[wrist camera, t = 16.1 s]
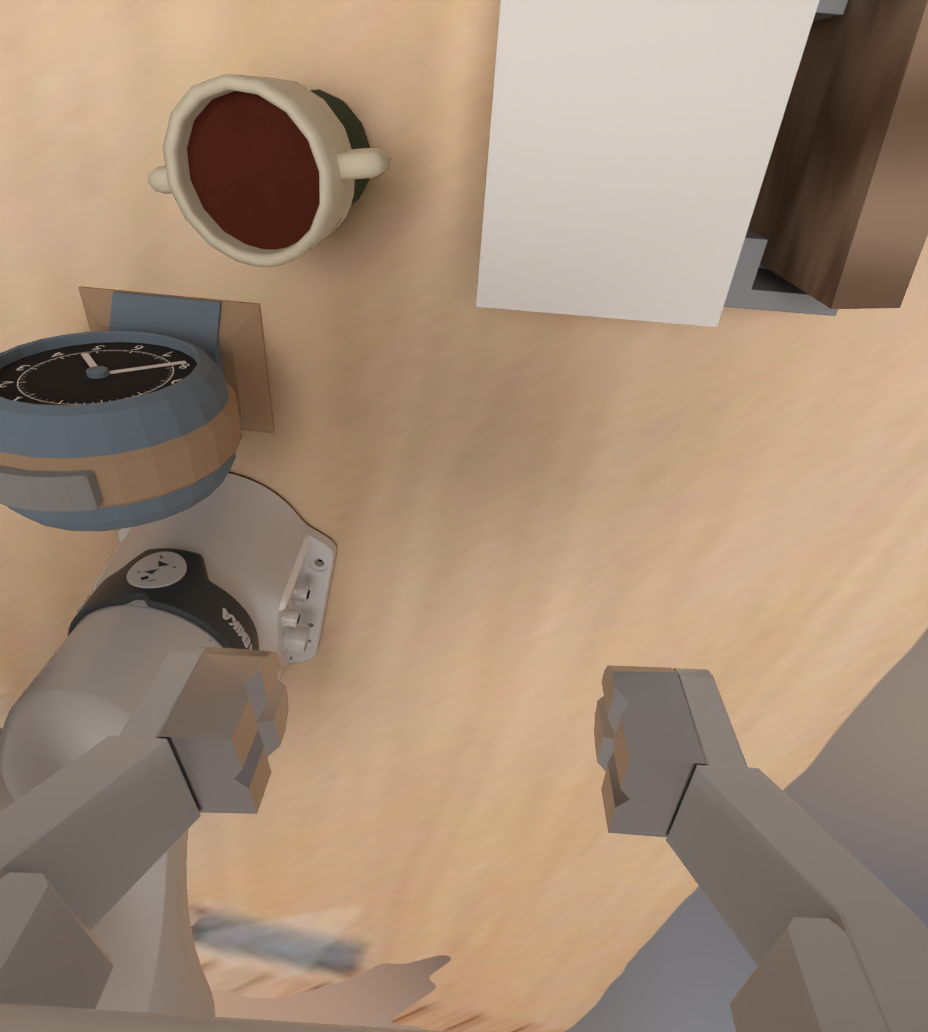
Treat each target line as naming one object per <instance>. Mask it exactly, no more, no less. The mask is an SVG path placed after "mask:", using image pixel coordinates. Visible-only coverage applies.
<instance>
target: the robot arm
mask: <svg viewBox="0 0 928 1032" xmlns="http://www.w3.org/2000/svg"><path fill="white" fill-rule="evenodd" d="M118 538H119V541H120V542H121V543H120V545H119V546H118V548H117V549H116V551H115V552H114V554H113V555H112V557H111V558H110V560H109V562H108V563H107V565H106V566H105V568H104V569H103V571H102V573H101V574H100V576H99V577H98V579H97V581H96V582H95V584H94V588H93V594H92V595H91V596H88V597H87V599H86V600H85V601H84V603H83V604H82V605H81V607H80V608H79V610H78V614H77V615H76V616H75V618H74V619H73V621H72V623H71V625H70V628H69V632H68V637H67V638H66V640H65V641H64V642H63V643H62V645H61V646H60V647H59V648H58V650H57V651H56V652H55V653H54V655H53V656H52V657H51V659H50V660H49V661H48V662H47V664H46V665H45V666H44V667H43V669H42V670H41V671H40V672H39V674H38V675H37V676H36V677H35V679H34V680H33V681H32V683H31V684H30V685H29V686H28V688H27V689H26V690H25V691H24V693H23V694H22V695H21V696H20V698H19V699H18V700H17V702H16V703H15V704H14V705H13V707H12V708H11V710H10V711H9V713H8V716H7V718H6V721H5V724H4V727H3V731H2V735H1V740H0V770H1V773H2V776H3V779H4V782H5V784H6V786H7V788H8V790H9V792H10V794H11V796H12V798H13V801H14V803H12V804H11V805H10V806H8V807H7V808H5V809H4V810H2V811H1V812H0V1032H445V1031H429V1030H413V1029H398V1028H382V1027H366V1026H351V1025H335V1024H319V1023H303V1022H288V1021H272V1020H256V1019H241V1018H224V1017H215V1007H214V1000H213V996H212V992H211V989H210V987H209V984H208V982H207V980H206V977H205V975H204V973H203V970H202V968H201V965H200V961H199V958H198V955H197V952H196V949H195V945H194V940H193V935H192V931H191V925H190V917H189V909H188V896H187V867H186V862H187V840H188V829H189V827H190V826H191V825H192V824H193V823H194V822H195V821H196V820H197V819H198V818H199V817H200V812H211V813H251V814H257V812H258V809H259V807H260V804H261V801H262V798H263V795H264V792H265V789H266V786H267V783H268V780H269V777H270V774H271V769H270V766H269V762H268V759H267V757H268V756H269V755H270V754H271V753H272V752H273V751H275V750H276V749H277V748H278V747H279V746H280V744H281V741H282V738H283V735H284V732H285V728H286V722H287V715H288V695H287V690H286V686H285V685H284V684H283V683H282V682H280V681H279V680H280V679H281V677H282V676H283V674H284V671H285V669H286V667H287V665H291V664H296V663H301V662H304V661H307V660H310V659H312V658H313V657H314V656H315V655H316V652H317V650H318V648H319V643H320V638H321V633H322V627H323V622H324V617H325V611H326V606H327V601H328V596H329V590H330V585H331V580H332V574H333V569H334V564H335V559H336V553H337V548H336V545H335V544H334V542H333V541H332V540H330V539H329V538H328V537H326V536H325V535H323V534H322V533H320V532H318V531H316V530H315V529H313V528H311V527H309V526H308V525H307V524H306V523H305V522H304V521H303V520H302V519H301V518H300V517H299V516H298V515H297V513H296V512H295V511H294V510H293V509H292V508H291V507H290V506H289V505H288V504H287V503H286V502H285V501H284V500H283V499H282V498H280V497H279V496H278V495H276V494H275V493H274V492H272V491H271V490H269V489H267V488H266V487H264V486H262V485H260V484H258V483H256V482H254V481H252V480H249V479H247V478H244V477H241V476H237V475H234V474H229V473H228V474H227V476H226V478H225V479H224V481H223V483H222V484H221V485H220V486H219V487H218V488H217V489H216V490H215V491H214V492H213V493H212V494H211V495H210V496H209V497H207V498H206V499H204V500H202V501H201V502H199V503H198V504H196V505H194V506H193V507H191V508H190V509H187V510H185V511H182V512H180V513H178V514H175V515H173V516H170V517H168V518H166V519H163V520H159V521H155V522H151V523H147V524H144V525H140V526H136V527H130V528H122V529H120V530H119V531H118ZM317 559H320V560H322V561H323V562H321V561H318V560H317ZM602 686H603V692H604V696H603V697H602V698H600V699H599V700H598V701H597V707H596V712H595V725H594V736H595V748H596V756H597V762H598V763H599V764H600V765H601V766H602V768H603V769H604V770H605V771H606V773H605V777H604V781H603V785H602V789H601V790H602V796H603V802H604V809H605V815H606V821H607V828H608V833H620V834H632V835H644V836H657V837H667V839H666V841H667V842H668V844H669V845H670V846H671V848H672V849H673V850H674V852H675V853H676V855H677V856H678V857H679V859H680V860H681V861H682V863H683V864H684V866H685V867H686V868H687V870H688V871H689V872H690V874H691V875H692V877H693V878H694V879H695V881H696V882H697V883H698V885H699V886H700V888H701V889H702V890H703V892H704V893H705V894H706V896H707V897H708V898H709V900H710V901H711V903H712V904H713V905H714V907H715V908H716V909H717V911H718V912H719V914H720V915H721V916H722V918H723V919H724V921H725V922H726V923H727V925H728V926H729V927H730V929H731V930H732V932H733V933H734V934H735V936H736V937H737V938H738V940H739V941H740V943H741V944H742V945H743V947H744V948H745V949H746V951H747V952H748V953H749V955H750V956H751V958H752V959H753V960H754V962H755V963H756V965H757V967H756V969H755V970H754V971H753V973H752V974H751V975H750V977H749V978H748V979H747V981H746V982H745V983H744V985H743V986H742V987H741V989H740V990H739V991H738V993H737V994H736V996H735V997H734V998H733V1000H732V1001H731V1003H730V1008H731V1012H732V1016H733V1020H734V1024H735V1028H736V1032H928V929H927V928H926V926H925V924H924V922H923V921H922V920H921V919H920V918H919V917H918V916H917V915H916V914H915V913H913V912H912V911H911V910H910V909H909V908H908V907H907V906H906V905H905V904H904V903H903V902H902V901H901V900H899V899H898V898H897V897H896V896H895V895H894V894H893V893H892V892H891V891H890V890H889V889H888V888H886V886H884V885H883V884H882V883H881V882H880V881H879V880H878V879H877V878H876V877H875V876H874V875H873V874H872V873H870V872H869V871H868V870H867V869H866V868H865V867H864V866H863V865H862V864H861V863H860V862H858V861H857V860H856V859H855V858H854V857H853V856H852V855H851V854H850V853H849V852H848V851H847V850H846V849H845V848H843V846H841V845H840V844H839V843H838V842H837V841H836V840H835V839H834V838H833V837H832V836H831V835H830V834H828V833H827V832H826V831H825V830H824V829H823V828H822V827H821V826H820V825H819V824H818V823H817V822H815V820H813V819H812V818H811V817H810V816H809V815H808V814H807V813H806V812H805V811H804V810H803V809H802V808H801V807H799V806H798V805H797V804H796V803H795V802H794V801H793V800H792V799H791V798H790V797H789V796H788V795H787V794H785V793H784V792H783V791H782V790H781V789H780V788H779V787H778V786H777V785H776V784H775V783H774V782H773V781H772V780H770V779H769V778H768V777H767V776H766V775H765V774H764V773H763V772H762V771H761V770H760V769H759V768H748V767H747V764H746V761H745V759H744V756H743V754H742V751H741V748H740V746H739V743H738V740H737V738H736V735H735V732H734V730H733V727H732V725H731V722H730V719H729V717H728V714H727V711H726V709H725V706H724V703H723V701H722V698H721V695H720V693H719V690H718V688H717V685H716V682H715V680H714V677H713V675H712V674H711V673H710V672H709V671H708V670H703V669H680V668H674V669H672V668H666V667H636V666H607V667H606V669H605V670H604V674H603V679H602Z"/></svg>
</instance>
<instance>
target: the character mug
mask: <svg viewBox="0 0 928 1032" xmlns="http://www.w3.org/2000/svg"><path fill="white" fill-rule="evenodd" d="M163 152H164V159H165V166H161V167H158V168H156V169H154V170H153V171H152V172H150V173H149V180H148V183H149V184H150V185H151V187H152V188H153V189H154V190H155V191H158V192H161V193H165V194H167V193H173V195H174V197H175V199H176V201H177V203H178V205H179V207H180V209H181V211H182V213H183V215H184V217H185V219H186V220H187V221H188V222H189V223H190V224H191V225H192V227H193V228H194V229H195V230H196V231H197V232H198V233H199V234H200V235H201V236H202V238H203V239H204V240H205V241H206V242H207V243H208V244H209V245H210V246H212V247H214V248H215V249H217V250H218V251H220V252H222V253H223V254H225V255H227V256H228V257H230V258H231V259H233V260H235V261H238V262H241V263H245V264H249V265H252V266H259V267H272V266H277V265H282V264H285V263H287V262H289V261H291V260H293V259H295V258H297V257H300V256H301V255H303V254H304V253H305V252H307V251H308V250H310V249H313V248H314V247H315V246H316V245H317V244H318V243H320V242H321V241H322V240H323V239H324V238H325V237H327V236H328V235H329V234H330V233H332V232H333V231H334V230H335V229H336V228H338V227H339V226H340V224H341V223H342V222H343V221H344V219H345V218H346V217H347V214H348V212H349V210H350V207H351V204H353V203H354V202H355V201H357V200H358V199H359V198H360V196H361V194H362V192H363V190H364V188H365V186H366V184H367V182H368V180H369V178H374V177H377V176H378V175H380V174H381V173H382V172H384V171H385V170H387V169H388V168H389V164H390V160H391V159H390V157H389V155H388V153H387V151H385V150H383V149H381V148H378V147H374V148H370V147H369V144H368V141H367V138H366V135H365V132H364V129H363V126H362V123H361V122H360V121H359V120H358V118H357V117H356V116H355V115H354V114H353V112H352V111H351V110H350V109H349V107H348V106H347V105H346V104H345V103H344V101H342V100H340V99H338V98H336V97H334V96H332V95H329V94H327V93H325V92H323V91H321V90H311V91H310V90H308V89H307V88H305V87H304V86H302V85H301V84H299V83H298V82H294V81H287V80H281V79H274V78H268V77H256V76H243V75H230V74H226V75H221V76H218V77H216V78H213V79H210V80H208V81H205V82H202V83H200V84H197V85H195V86H192V87H191V88H190V90H189V91H188V92H187V93H186V95H185V96H184V97H183V98H182V100H181V101H180V102H179V103H178V104H177V106H176V107H175V108H174V109H173V111H172V112H171V115H170V119H169V123H168V128H167V132H166V136H165V140H164V145H163Z"/></svg>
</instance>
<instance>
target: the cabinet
mask: <svg viewBox="0 0 928 1032" xmlns="http://www.w3.org/2000/svg"><path fill="white" fill-rule="evenodd" d="M847 2H848V0H501V4H500V16H499V28H498V41H497V53H496V66H495V78H494V90H493V103H492V115H491V127H490V140H489V152H488V164H487V177H486V189H485V201H484V214H483V226H482V239H481V251H480V263H479V276H478V288H477V300H476V307H486V308H498V309H510V310H521V311H533V312H545V313H557V314H568V315H580V316H592V317H604V318H615V319H627V320H639V321H651V322H662V323H674V324H686V325H698V326H709V327H717V326H718V322H719V319H720V316H721V313H722V310H723V307H734V308H746V309H758V310H769V311H781V312H793V313H804V314H816V315H828V316H835V315H836V313H837V311H838V309H830V308H829V307H827V306H826V305H824V304H822V303H821V302H819V301H818V300H816V299H815V298H813V297H812V296H810V295H808V294H807V293H805V292H804V291H802V290H801V289H799V288H798V287H796V286H794V285H793V284H791V283H790V282H788V281H787V280H785V279H783V278H782V277H780V276H779V275H777V274H776V273H774V272H773V271H771V270H769V269H768V268H766V267H765V266H763V265H762V264H760V262H761V259H762V256H763V253H764V250H765V247H766V244H767V241H768V240H767V239H765V238H763V237H762V236H760V235H758V234H756V233H754V232H752V231H750V230H749V229H748V227H749V224H750V220H751V217H752V214H753V211H754V208H755V204H756V201H757V198H758V195H759V192H760V188H761V185H762V182H763V179H764V176H765V172H766V169H767V166H768V163H769V160H770V157H771V153H772V150H773V147H774V144H775V141H776V137H777V134H778V131H779V128H780V125H781V121H782V118H783V115H784V112H785V109H786V106H787V102H788V99H789V96H790V93H791V90H792V86H793V83H794V80H795V77H796V74H797V70H798V67H799V64H800V61H801V58H802V55H803V51H804V48H805V45H806V42H807V39H808V35H809V32H810V29H811V26H812V23H813V22H814V21H818V20H822V19H827V18H831V17H835V16H840V15H843V14H844V11H845V8H846V5H847Z"/></svg>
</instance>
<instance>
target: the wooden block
mask: <svg viewBox="0 0 928 1032" xmlns="http://www.w3.org/2000/svg"><path fill="white" fill-rule="evenodd" d="M748 229H749V230H750V231H752V232H754V233H756V234H758V235H760V236H762V237H763V238H765V239H767V240H768V241H767V244H766V247H765V250H764V253H763V256H762V259H761V262H760V264H762V265H763V266H765V267H766V268H768V269H769V270H771V271H773V272H774V273H776V274H777V275H779V276H780V277H782V278H783V279H785V280H787V281H788V282H790V283H791V284H793V285H794V286H796V287H798V288H799V289H801V290H802V291H804V292H805V293H807V294H808V295H810V296H812V297H813V298H815V299H816V300H818V301H819V302H821V303H822V304H824V305H826V306H827V307H829V308H830V309H860V308H900V306H901V304H902V301H903V298H904V296H905V293H906V290H907V288H908V285H909V282H910V280H911V277H912V274H913V272H914V269H915V266H916V264H917V261H918V259H919V256H920V253H921V251H922V248H923V245H924V243H925V240H926V237H927V235H928V0H848V2H847V5H846V8H845V11H844V14H843V15H840V16H835V17H831V18H827V19H822V20H818V21H814V22H813V23H812V26H811V29H810V32H809V35H808V39H807V42H806V45H805V48H804V51H803V55H802V58H801V61H800V64H799V67H798V70H797V74H796V77H795V80H794V83H793V86H792V90H791V93H790V96H789V99H788V102H787V106H786V109H785V112H784V115H783V118H782V121H781V125H780V128H779V131H778V134H777V137H776V141H775V144H774V147H773V150H772V153H771V157H770V160H769V163H768V166H767V169H766V172H765V176H764V179H763V182H762V185H761V188H760V192H759V195H758V198H757V201H756V204H755V208H754V211H753V214H752V217H751V220H750V224H749V227H748Z"/></svg>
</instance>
